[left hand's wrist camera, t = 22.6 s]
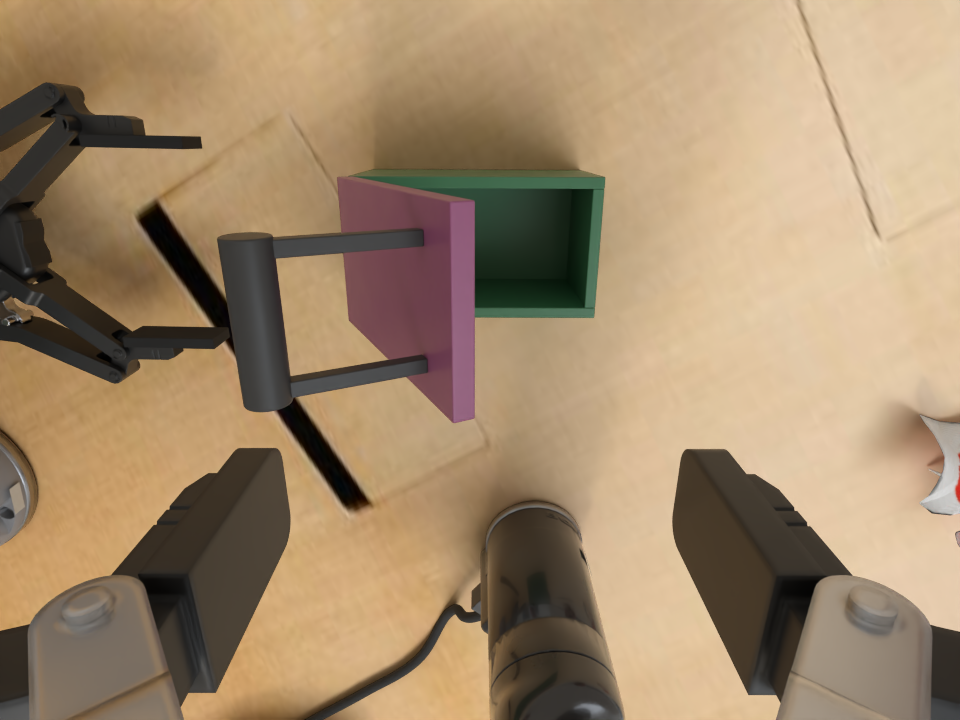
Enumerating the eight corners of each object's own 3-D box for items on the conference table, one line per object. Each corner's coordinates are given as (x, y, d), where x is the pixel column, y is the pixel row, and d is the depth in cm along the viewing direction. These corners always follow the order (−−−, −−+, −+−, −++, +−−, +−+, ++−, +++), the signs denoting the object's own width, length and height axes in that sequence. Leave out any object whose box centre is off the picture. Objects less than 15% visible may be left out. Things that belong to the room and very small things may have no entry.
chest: (580, 170, 44) (605, 177, 35) (573, 285, 47) (594, 318, 39) (373, 169, 44) (347, 176, 35) (380, 284, 47) (358, 317, 39)
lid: (475, 200, 21) (217, 211, 17) (475, 418, 25) (258, 469, 21) (353, 176, 35) (194, 180, 31) (363, 318, 38) (221, 337, 34)
